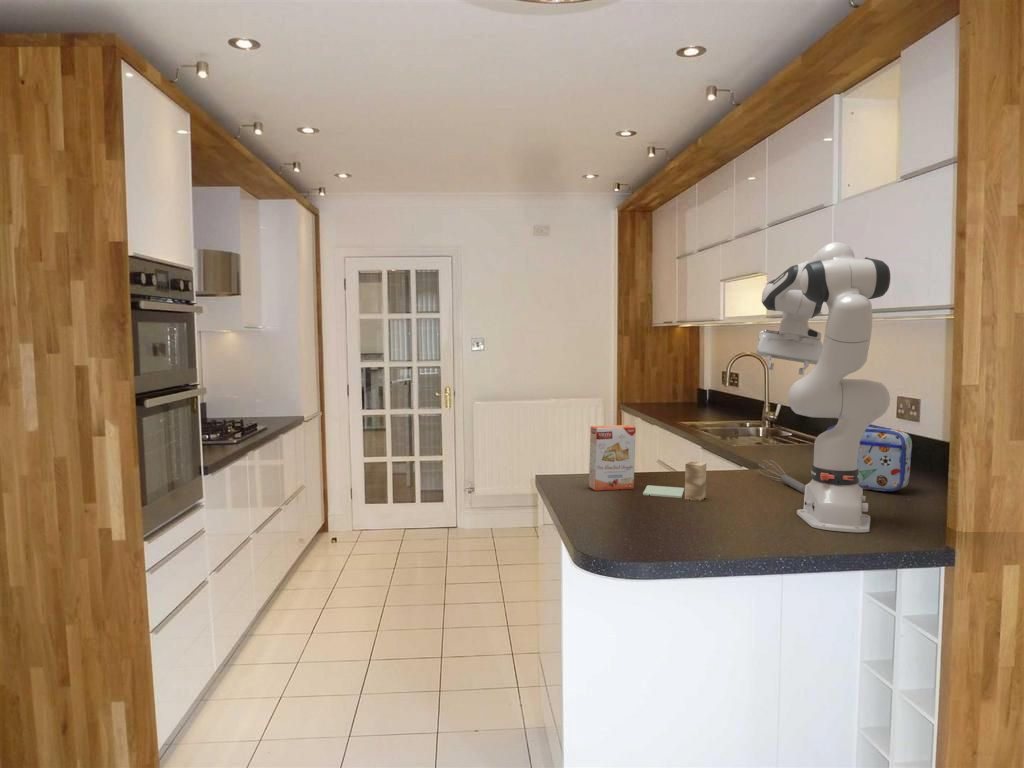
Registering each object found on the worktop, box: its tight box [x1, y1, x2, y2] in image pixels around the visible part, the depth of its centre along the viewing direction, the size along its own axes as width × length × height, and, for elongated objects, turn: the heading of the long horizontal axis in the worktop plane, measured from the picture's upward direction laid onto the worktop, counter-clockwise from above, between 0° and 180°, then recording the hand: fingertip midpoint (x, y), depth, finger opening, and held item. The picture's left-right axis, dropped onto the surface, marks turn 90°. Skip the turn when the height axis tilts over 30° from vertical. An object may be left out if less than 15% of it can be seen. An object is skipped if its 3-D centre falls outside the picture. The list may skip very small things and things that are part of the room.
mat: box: [642, 485, 685, 499], centre depth 220 cm, size 12×12×1 cm
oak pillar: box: [684, 461, 707, 502], centre depth 212 cm, size 5×5×11 cm
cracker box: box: [588, 424, 636, 492], centre depth 225 cm, size 14×6×21 cm, turn 105°
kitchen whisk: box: [758, 459, 807, 495], centre depth 233 cm, size 6×34×6 cm, turn 5°
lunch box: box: [825, 424, 913, 492], centre depth 229 cm, size 28×10×22 cm, turn 43°
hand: (785, 371), depth 223 cm, fingers open, 8 cm apart
